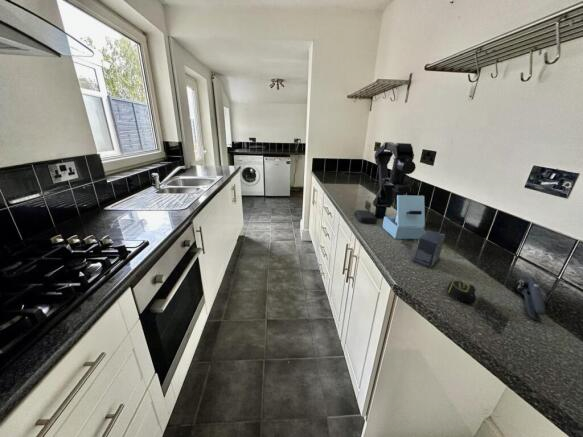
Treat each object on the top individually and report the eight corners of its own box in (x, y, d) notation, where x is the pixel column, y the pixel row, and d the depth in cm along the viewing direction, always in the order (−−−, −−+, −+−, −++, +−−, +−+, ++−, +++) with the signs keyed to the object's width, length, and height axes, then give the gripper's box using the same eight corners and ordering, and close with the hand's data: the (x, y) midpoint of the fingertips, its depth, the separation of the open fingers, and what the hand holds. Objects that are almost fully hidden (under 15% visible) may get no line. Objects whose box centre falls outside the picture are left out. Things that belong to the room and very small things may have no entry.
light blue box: (382, 226, 119) (384, 216, 117) (405, 227, 120) (407, 216, 118) (395, 238, 106) (397, 227, 104) (420, 238, 107) (424, 227, 105)
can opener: (512, 285, 77) (519, 270, 75) (542, 294, 73) (550, 280, 70) (516, 315, 64) (524, 298, 62) (551, 328, 60) (562, 312, 58)
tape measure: (472, 308, 66) (477, 297, 64) (445, 297, 70) (448, 287, 68) (473, 295, 71) (477, 285, 70) (447, 286, 75) (450, 276, 73)
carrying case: (379, 224, 122) (371, 214, 135) (380, 219, 121) (372, 209, 134) (359, 223, 122) (353, 213, 135) (360, 218, 121) (354, 209, 134)
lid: (397, 195, 105) (402, 194, 101) (423, 196, 106) (429, 194, 102) (397, 226, 104) (402, 226, 100) (423, 226, 105) (430, 226, 101)
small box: (421, 252, 95) (428, 229, 91) (439, 258, 91) (446, 234, 87) (412, 261, 88) (418, 236, 84) (430, 268, 84) (438, 243, 80)
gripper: (425, 174, 104) (417, 207, 109) (404, 167, 121) (397, 196, 127) (402, 173, 103) (395, 206, 108) (383, 167, 120) (378, 195, 126)
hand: (391, 201), depth 117 cm, fingers open, 9 cm apart
